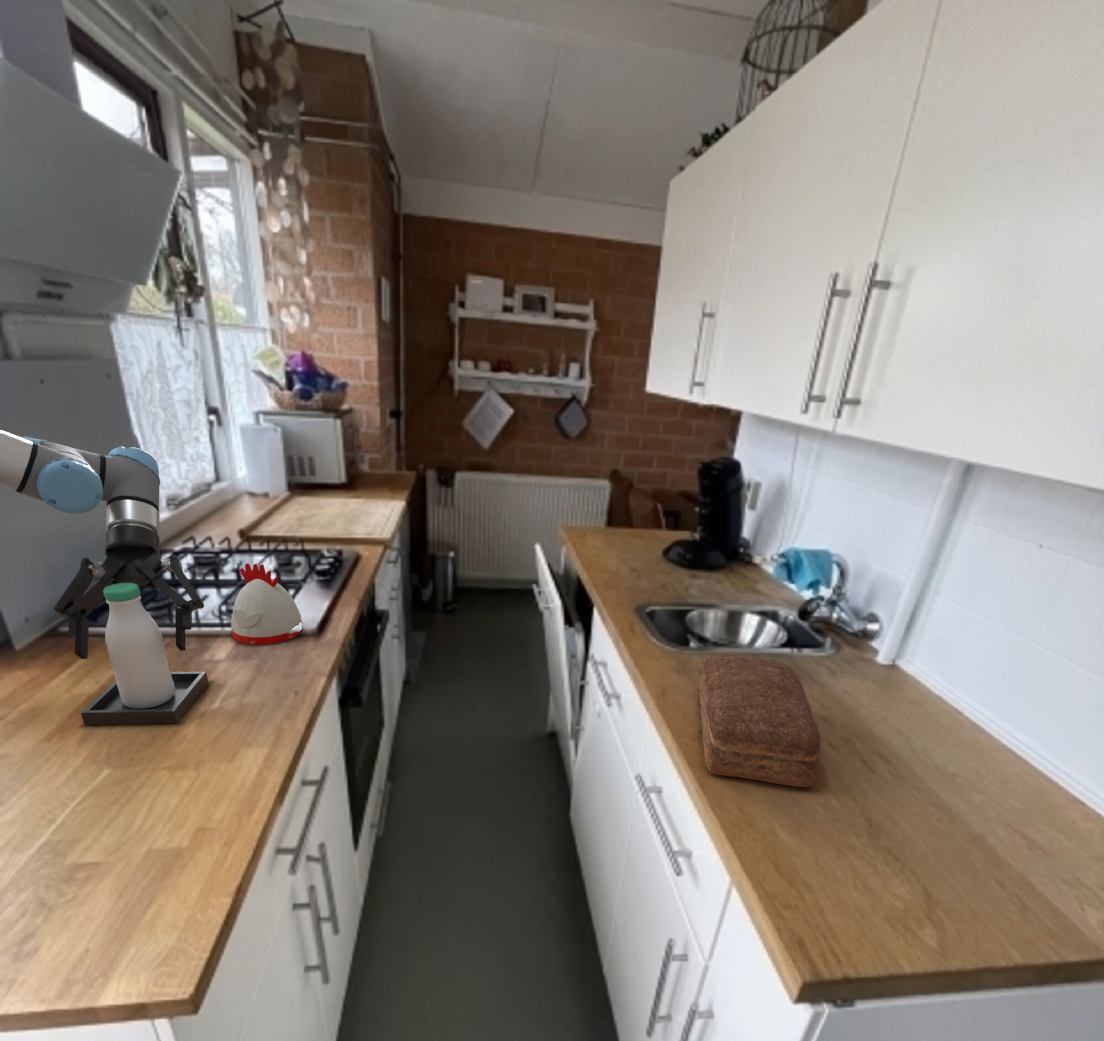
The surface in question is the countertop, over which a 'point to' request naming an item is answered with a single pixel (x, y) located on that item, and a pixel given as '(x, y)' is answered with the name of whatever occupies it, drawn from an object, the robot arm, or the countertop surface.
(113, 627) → the milk bottle
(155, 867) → the countertop surface
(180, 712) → the dock tray
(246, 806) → the countertop surface
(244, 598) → the kitchen timer
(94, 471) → the robot arm
